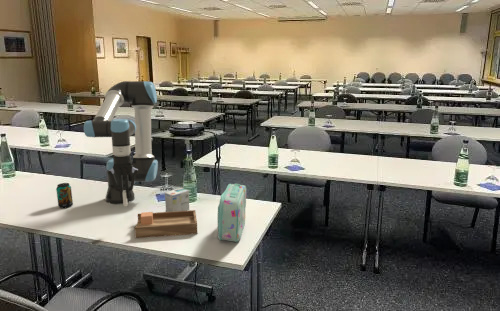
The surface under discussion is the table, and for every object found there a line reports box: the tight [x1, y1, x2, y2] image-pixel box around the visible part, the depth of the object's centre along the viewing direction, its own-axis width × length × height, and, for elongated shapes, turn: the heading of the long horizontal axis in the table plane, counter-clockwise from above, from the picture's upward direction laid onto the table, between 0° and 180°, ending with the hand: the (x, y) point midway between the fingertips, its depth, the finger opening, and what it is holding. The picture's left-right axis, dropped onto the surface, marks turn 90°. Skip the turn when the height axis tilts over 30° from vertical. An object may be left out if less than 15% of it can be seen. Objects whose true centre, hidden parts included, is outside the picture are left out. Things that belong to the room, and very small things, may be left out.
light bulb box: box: [164, 187, 190, 212], centre depth 204 cm, size 11×7×11 cm, turn 134°
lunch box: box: [217, 183, 247, 243], centre depth 179 cm, size 27×10×21 cm, turn 174°
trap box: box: [134, 209, 198, 239], centre depth 184 cm, size 16×27×5 cm, turn 101°
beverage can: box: [55, 182, 74, 209], centre depth 209 cm, size 7×7×12 cm
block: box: [140, 211, 154, 225], centre depth 185 cm, size 5×5×4 cm
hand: (125, 204), depth 181 cm, fingers closed
